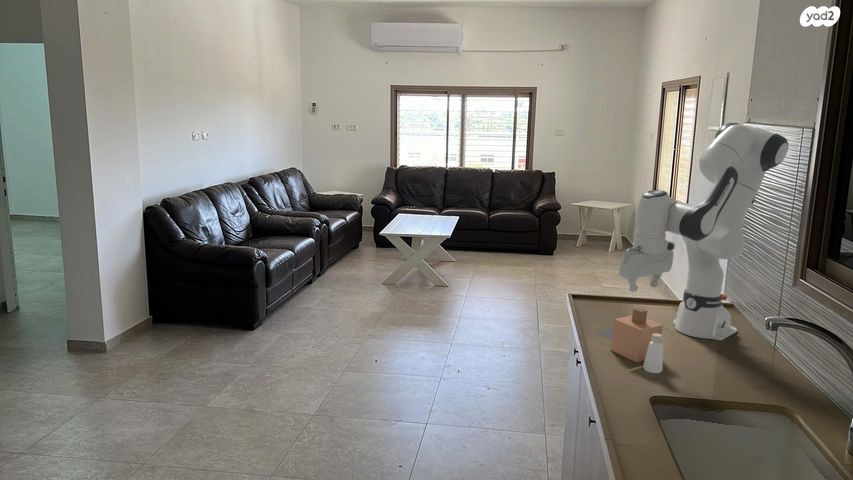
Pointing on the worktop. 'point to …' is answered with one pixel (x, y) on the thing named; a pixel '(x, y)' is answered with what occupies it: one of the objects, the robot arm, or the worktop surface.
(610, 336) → the mat
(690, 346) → the worktop surface
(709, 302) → the robot arm
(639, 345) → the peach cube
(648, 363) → the pepper shaker
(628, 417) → the worktop surface
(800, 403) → the worktop surface
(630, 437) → the worktop surface
